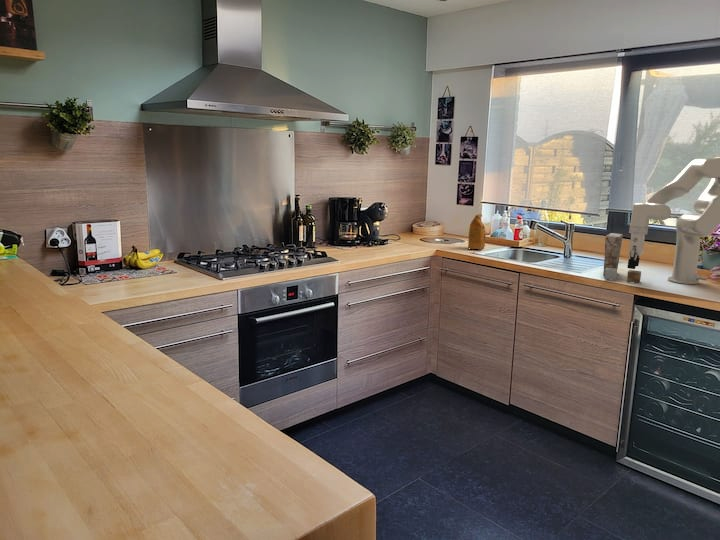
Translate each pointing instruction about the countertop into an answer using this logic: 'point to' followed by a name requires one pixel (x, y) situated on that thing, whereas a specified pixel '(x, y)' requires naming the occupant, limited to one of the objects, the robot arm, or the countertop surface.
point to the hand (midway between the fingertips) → (632, 267)
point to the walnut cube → (633, 276)
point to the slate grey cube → (610, 273)
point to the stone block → (612, 250)
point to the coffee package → (477, 234)
